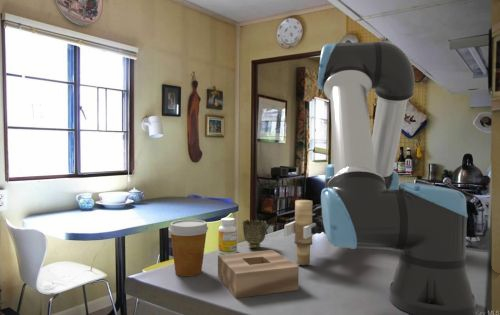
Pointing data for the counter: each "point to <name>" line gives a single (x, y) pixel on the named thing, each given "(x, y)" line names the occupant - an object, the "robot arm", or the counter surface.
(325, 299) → the counter surface
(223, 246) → the supplement bottle
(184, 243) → the disposable coffee cup
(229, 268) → the seat block
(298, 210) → the leg
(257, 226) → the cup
